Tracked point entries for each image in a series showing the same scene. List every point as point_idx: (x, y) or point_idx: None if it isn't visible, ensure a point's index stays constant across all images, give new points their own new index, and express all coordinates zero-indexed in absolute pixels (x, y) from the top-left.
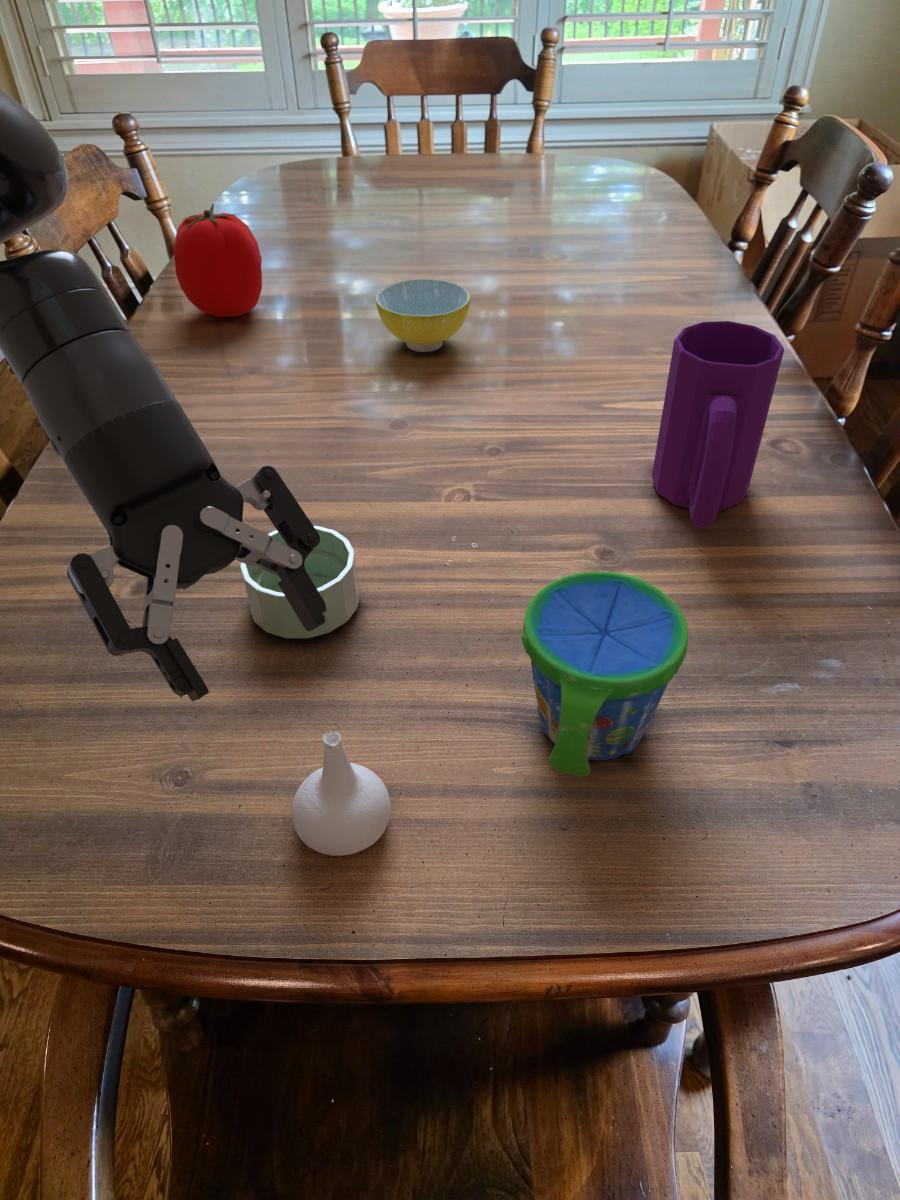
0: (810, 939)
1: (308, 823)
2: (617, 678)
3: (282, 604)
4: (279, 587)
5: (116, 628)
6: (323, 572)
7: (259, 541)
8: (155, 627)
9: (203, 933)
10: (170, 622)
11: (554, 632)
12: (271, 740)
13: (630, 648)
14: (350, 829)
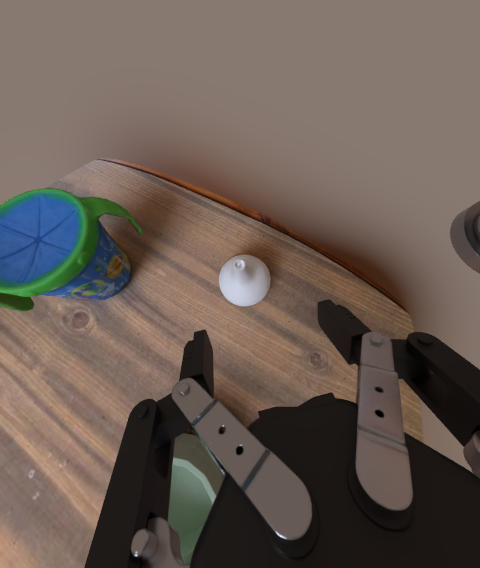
0: (123, 163)
1: (265, 268)
2: (67, 196)
3: (204, 466)
4: (191, 523)
5: (441, 353)
6: None
7: (213, 417)
8: (381, 347)
9: (323, 264)
10: (361, 348)
11: (62, 251)
12: (258, 357)
13: (39, 218)
14: (248, 255)
